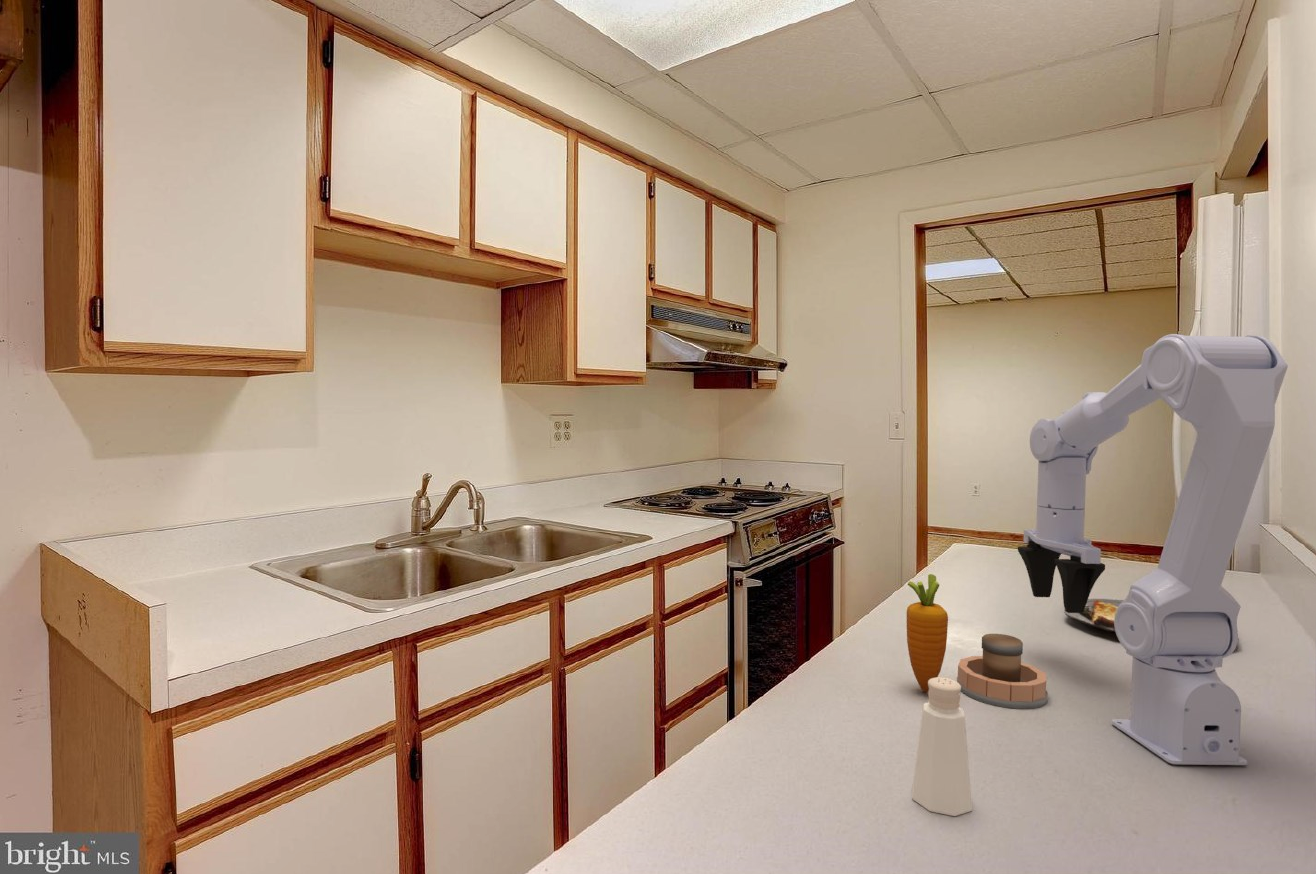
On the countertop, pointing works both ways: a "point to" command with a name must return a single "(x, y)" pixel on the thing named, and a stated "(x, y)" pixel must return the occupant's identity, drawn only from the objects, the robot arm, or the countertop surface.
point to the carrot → (926, 633)
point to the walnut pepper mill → (1002, 657)
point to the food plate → (1098, 613)
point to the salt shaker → (942, 752)
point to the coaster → (1003, 686)
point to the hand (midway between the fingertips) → (1057, 604)
